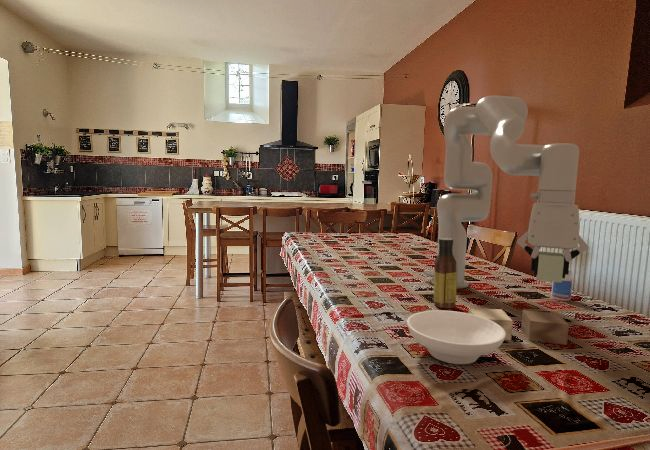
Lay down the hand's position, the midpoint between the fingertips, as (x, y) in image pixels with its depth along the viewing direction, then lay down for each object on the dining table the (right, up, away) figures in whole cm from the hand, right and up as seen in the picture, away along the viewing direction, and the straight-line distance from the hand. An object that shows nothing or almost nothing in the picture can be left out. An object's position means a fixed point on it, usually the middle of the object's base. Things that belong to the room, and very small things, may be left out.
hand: (548, 274), depth 97 cm
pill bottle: (+22, -12, +33) cm, 42 cm away
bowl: (-26, -16, -11) cm, 32 cm away
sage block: (0, -1, 0) cm, 1 cm away
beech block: (-13, -15, +3) cm, 20 cm away
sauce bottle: (-18, -12, +23) cm, 32 cm away
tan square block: (0, -15, +2) cm, 15 cm away
